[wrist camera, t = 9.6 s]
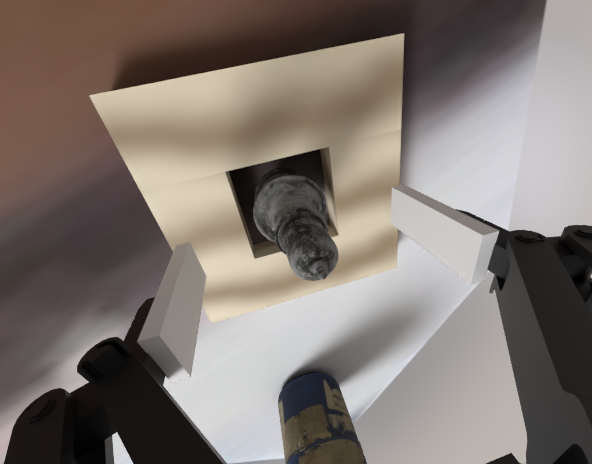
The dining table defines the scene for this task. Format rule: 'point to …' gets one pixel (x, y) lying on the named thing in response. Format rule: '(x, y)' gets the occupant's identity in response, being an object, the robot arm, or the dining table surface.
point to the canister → (317, 423)
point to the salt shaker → (296, 222)
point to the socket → (262, 148)
